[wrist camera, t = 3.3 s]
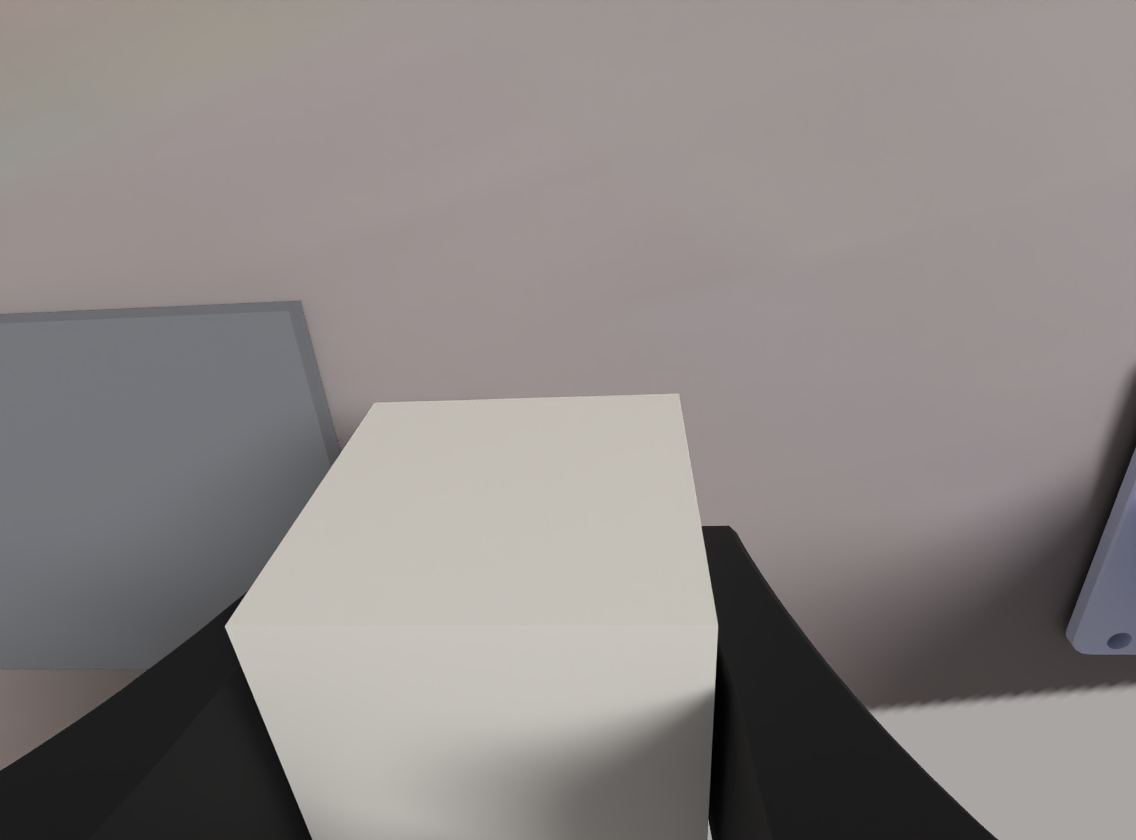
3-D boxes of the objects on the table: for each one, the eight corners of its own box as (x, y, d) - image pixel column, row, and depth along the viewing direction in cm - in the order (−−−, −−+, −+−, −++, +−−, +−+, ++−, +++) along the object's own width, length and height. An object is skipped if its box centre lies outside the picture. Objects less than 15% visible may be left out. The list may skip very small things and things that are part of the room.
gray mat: (300, 301, 14) (288, 310, 14) (392, 652, 19) (385, 670, 18) (-230, 324, 15) (-260, 335, 15) (-15, 652, 20) (-33, 668, 19)
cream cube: (678, 394, 10) (717, 626, 6) (675, 624, 12) (703, 906, 8) (374, 402, 10) (224, 625, 6) (423, 624, 13) (334, 894, 9)
